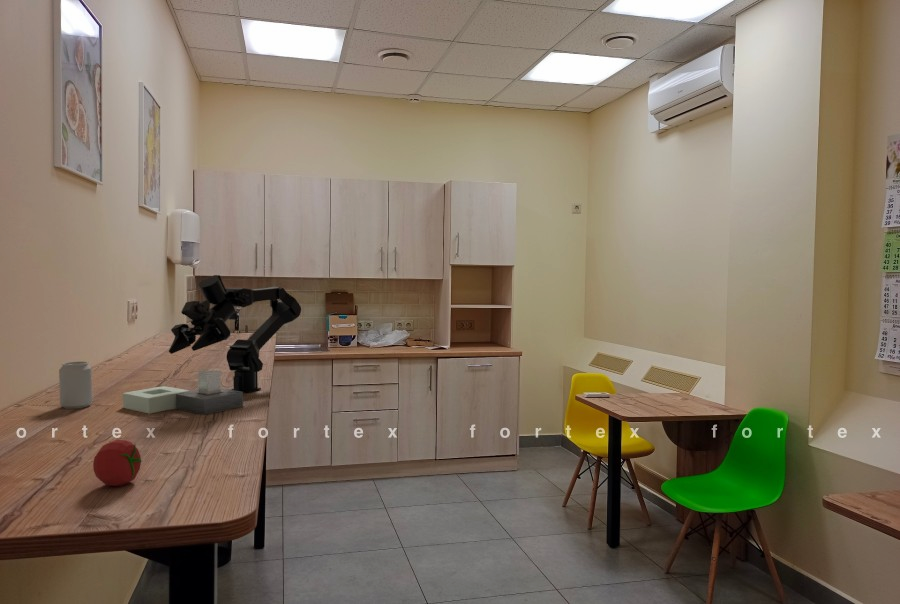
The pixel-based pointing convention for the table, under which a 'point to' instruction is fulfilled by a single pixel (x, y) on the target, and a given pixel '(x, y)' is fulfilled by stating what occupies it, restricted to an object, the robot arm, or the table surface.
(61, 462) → the table surface
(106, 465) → the tomato
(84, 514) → the table surface
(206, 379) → the pin
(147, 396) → the dock
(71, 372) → the can
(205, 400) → the mount
